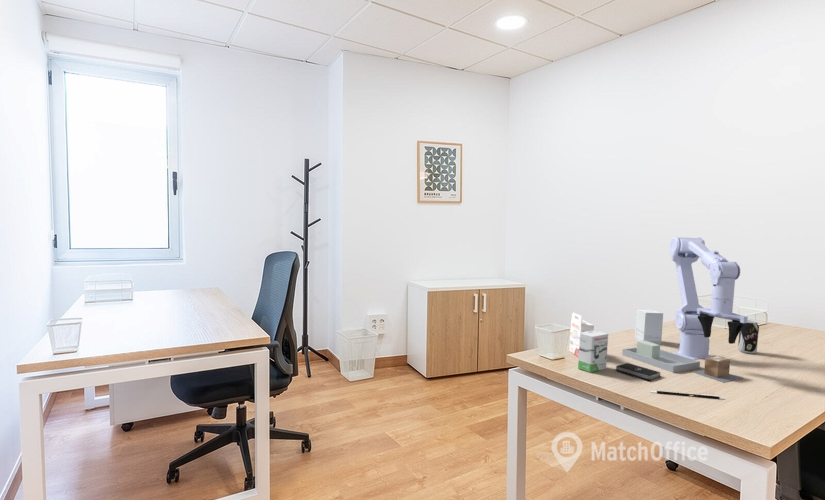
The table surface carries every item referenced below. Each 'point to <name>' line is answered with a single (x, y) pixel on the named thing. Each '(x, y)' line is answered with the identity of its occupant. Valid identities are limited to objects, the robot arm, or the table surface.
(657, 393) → the pen
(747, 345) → the beverage can
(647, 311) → the supplement box
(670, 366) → the grey bin
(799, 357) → the table surface
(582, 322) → the ink cartridge box
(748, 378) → the table surface
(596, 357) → the ink box
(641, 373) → the external hard drive
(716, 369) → the labelled block
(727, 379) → the slate mat
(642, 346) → the sage block
